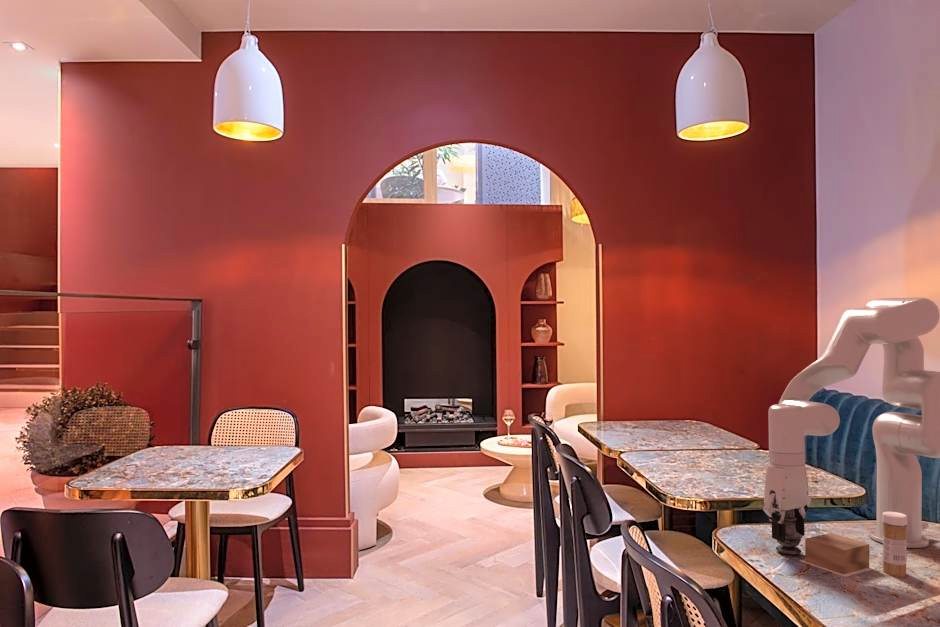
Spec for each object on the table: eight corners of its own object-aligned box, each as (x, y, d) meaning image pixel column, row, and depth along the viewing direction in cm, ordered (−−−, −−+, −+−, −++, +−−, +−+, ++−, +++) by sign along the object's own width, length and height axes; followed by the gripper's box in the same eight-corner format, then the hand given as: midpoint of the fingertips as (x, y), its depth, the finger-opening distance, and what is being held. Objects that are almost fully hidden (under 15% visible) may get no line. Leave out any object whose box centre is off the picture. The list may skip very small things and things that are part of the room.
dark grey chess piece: (805, 555, 159) (804, 501, 159) (777, 553, 160) (776, 500, 160) (798, 546, 165) (798, 494, 165) (771, 545, 166) (771, 494, 166)
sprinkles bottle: (905, 575, 151) (905, 512, 151) (908, 582, 147) (908, 517, 147) (880, 571, 153) (881, 509, 153) (883, 579, 149) (883, 515, 149)
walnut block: (830, 554, 161) (830, 532, 161) (869, 567, 153) (869, 544, 153) (805, 561, 157) (805, 538, 157) (843, 574, 149) (843, 550, 149)
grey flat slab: (831, 555, 164) (831, 551, 164) (882, 571, 153) (882, 567, 153) (785, 566, 156) (785, 562, 156) (836, 584, 146) (837, 580, 146)
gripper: (796, 451, 170) (798, 526, 170) (747, 460, 161) (748, 539, 161) (825, 457, 163) (827, 535, 163) (776, 466, 155) (777, 548, 155)
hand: (788, 536), depth 162 cm, fingers closed on dark grey chess piece, 5 cm apart
